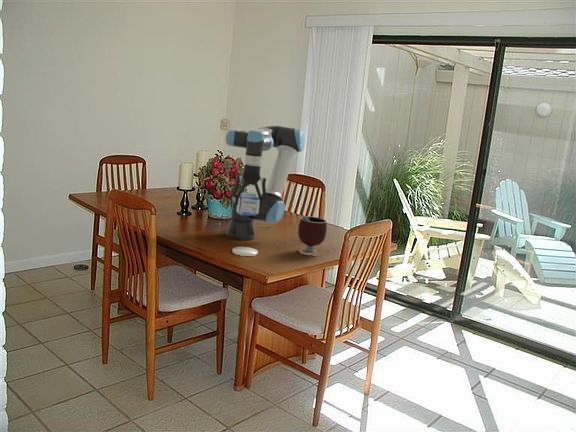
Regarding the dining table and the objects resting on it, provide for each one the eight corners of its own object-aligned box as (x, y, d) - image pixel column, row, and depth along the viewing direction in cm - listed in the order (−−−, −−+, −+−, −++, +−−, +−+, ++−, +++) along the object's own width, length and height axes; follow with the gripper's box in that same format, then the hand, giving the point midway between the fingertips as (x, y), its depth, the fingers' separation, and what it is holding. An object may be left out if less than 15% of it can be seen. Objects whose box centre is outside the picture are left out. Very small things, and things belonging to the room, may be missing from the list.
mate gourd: (309, 247, 288) (314, 209, 284) (328, 255, 278) (334, 216, 274) (287, 250, 278) (292, 211, 273) (307, 258, 268) (312, 218, 264)
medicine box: (240, 215, 257) (242, 197, 255) (237, 213, 261) (239, 195, 259) (256, 215, 260) (258, 197, 258) (253, 213, 264) (255, 195, 262)
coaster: (254, 249, 272) (255, 247, 271) (259, 257, 260) (260, 254, 260) (230, 248, 268) (230, 246, 268) (234, 256, 257) (234, 253, 257)
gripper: (230, 163, 250) (225, 212, 254) (276, 167, 255) (271, 216, 259) (228, 161, 257) (223, 209, 261) (273, 165, 262) (268, 212, 266)
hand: (247, 212), depth 260 cm, fingers closed on medicine box, 8 cm apart
